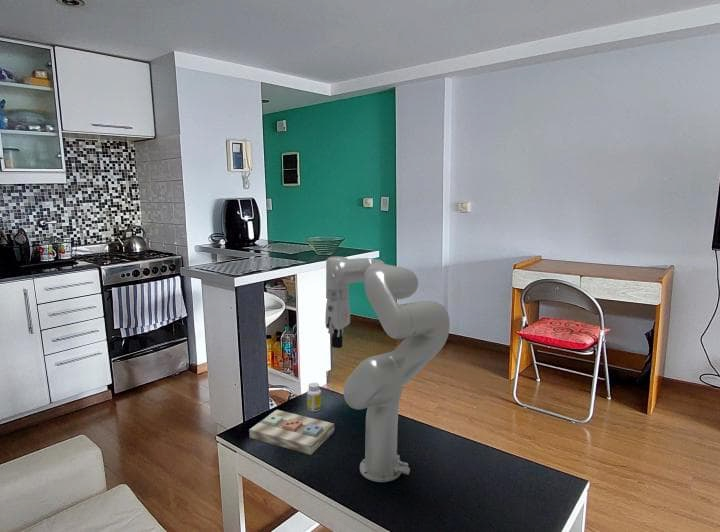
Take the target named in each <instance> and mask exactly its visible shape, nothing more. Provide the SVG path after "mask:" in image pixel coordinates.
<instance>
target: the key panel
mask: <svg viewBox="0 0 720 532" xmlns="http://www.w3.org/2000/svg"><path fill="white" fill-rule="evenodd" d="M270 414H273V415H277V416H282V417H283V421H282V422H281V423H279V424H278V425H277V426H276V427H274V426H270V425H266V424H263V420H264V419H265V418H266V417H268V416H269V415H267V416H266V417H265V418H263V419H262V420H260V421H259V422H258V423H256V424H255V425H254V426H252V427H251V428H249V429H248V432H249V438H250V439H253V440H257V441H261V442H264V443H267V444H271V445H274V446H278V447H282V448H284V449H285V448H286V449H289V450H292V451H297V452H300V453H302V454H306V455H310V456H312V455H313V453H315V452H316V451H317V450H318V448H320V447H321V445H322V444H323V443H325V442H326V441H327V439H329V437H330V436H331V435H333V433H334V432H335V423H332V422H329V421H326V420H325V421H324V420H321V419H317V418H312V417H309V416H304V415H300V414H296V413H291V412H289V411H284V410H280V409H276V410H274V411H272V412H271V413H270ZM289 419H293V420H297V421H301V422H303V426H302V427H300V428H299V429H298V430H297V431H296V432H293V431H289V430H285V429H282V425H283V424H284V423H286V422H287V421H288V420H289ZM309 424H314V425H318V426H322V427H323V431H322V432H321V433H320V434H319V435H318V436H317V437H312V436H308V435H304V434H302V430H303V429H305V428H306V427H307V426H308V425H309Z"/></svg>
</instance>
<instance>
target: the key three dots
mask: <svg viewBox="0 0 720 532" xmlns="http://www.w3.org/2000/svg"><path fill="white" fill-rule="evenodd" d="M302 426H303V422H301V421H297V420H293V419H289V420H288V421H287V422H286V423H284V424H283V425H282V429H285V430H289V431H293V432H296V431H297V430H298V429H299V428H300V427H302Z"/></svg>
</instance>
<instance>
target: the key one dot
mask: <svg viewBox="0 0 720 532" xmlns="http://www.w3.org/2000/svg"><path fill="white" fill-rule="evenodd" d="M267 416H268V417H267ZM267 416H265V419H264V418H263V419H264V420H263V419H262V420H263V424H266V425H270V426H274V427H276V426H277V425H278V424H279V423H281V422H282V421H283V417H282V416H277V415H273V414H271V413H270V414H269V415H267Z"/></svg>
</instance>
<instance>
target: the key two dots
mask: <svg viewBox="0 0 720 532" xmlns="http://www.w3.org/2000/svg"><path fill="white" fill-rule="evenodd" d="M322 431H323V427H322V426H318V425H314V424H309V425H308V426H307V427H306V428H305V429H303V430H302V434H304V435H308V436H312V437H317V436H318V435H319V434H320V433H321V432H322Z"/></svg>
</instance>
